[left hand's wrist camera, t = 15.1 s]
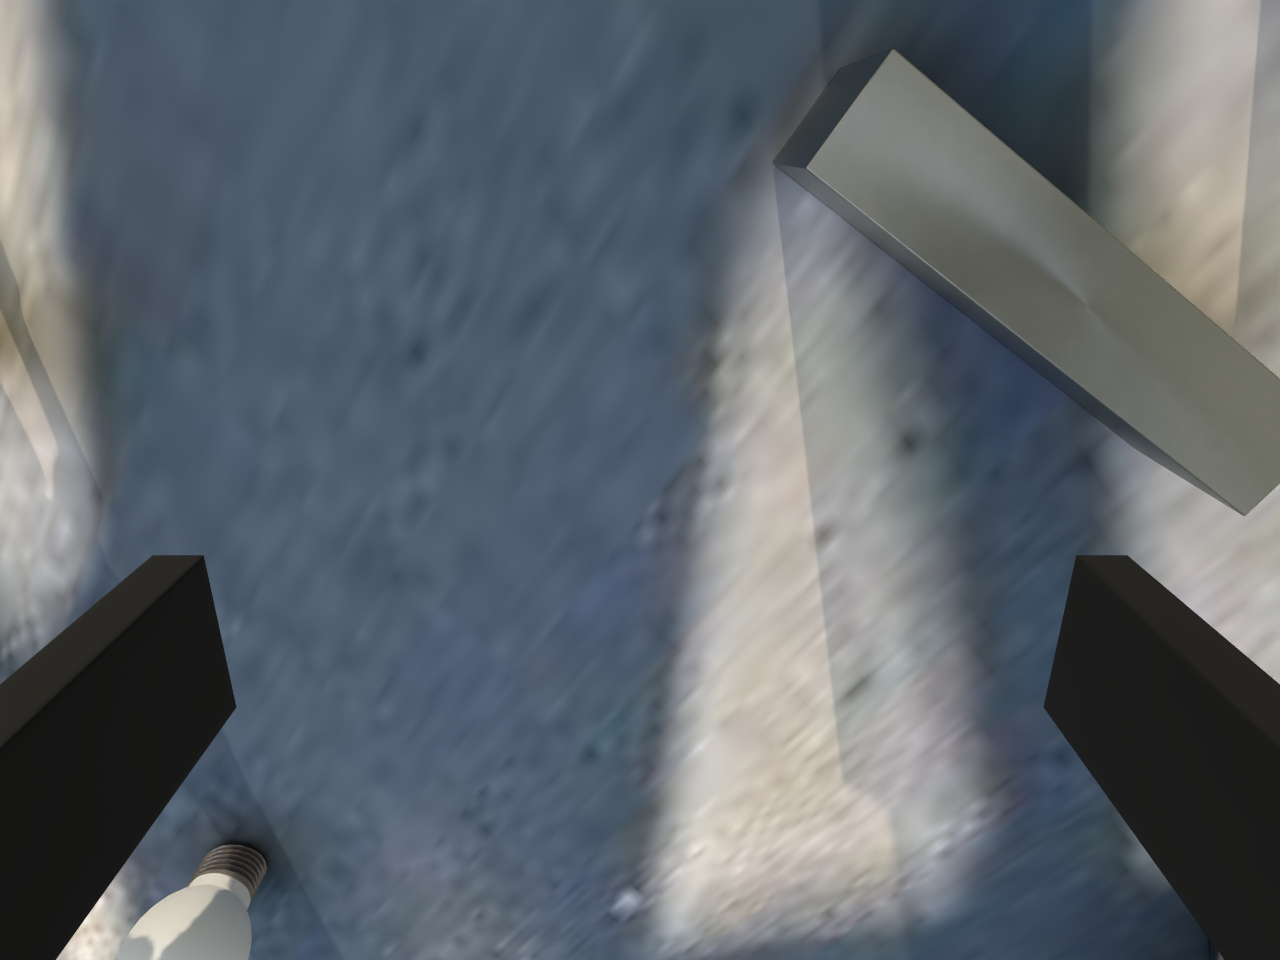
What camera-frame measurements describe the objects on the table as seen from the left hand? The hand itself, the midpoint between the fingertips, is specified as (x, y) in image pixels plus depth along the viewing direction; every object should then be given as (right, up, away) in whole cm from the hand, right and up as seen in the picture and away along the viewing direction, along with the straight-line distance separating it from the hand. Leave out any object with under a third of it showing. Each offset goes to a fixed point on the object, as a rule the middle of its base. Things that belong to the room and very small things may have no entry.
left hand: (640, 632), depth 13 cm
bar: (+17, +12, +27) cm, 35 cm away
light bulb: (-26, -22, +41) cm, 54 cm away
